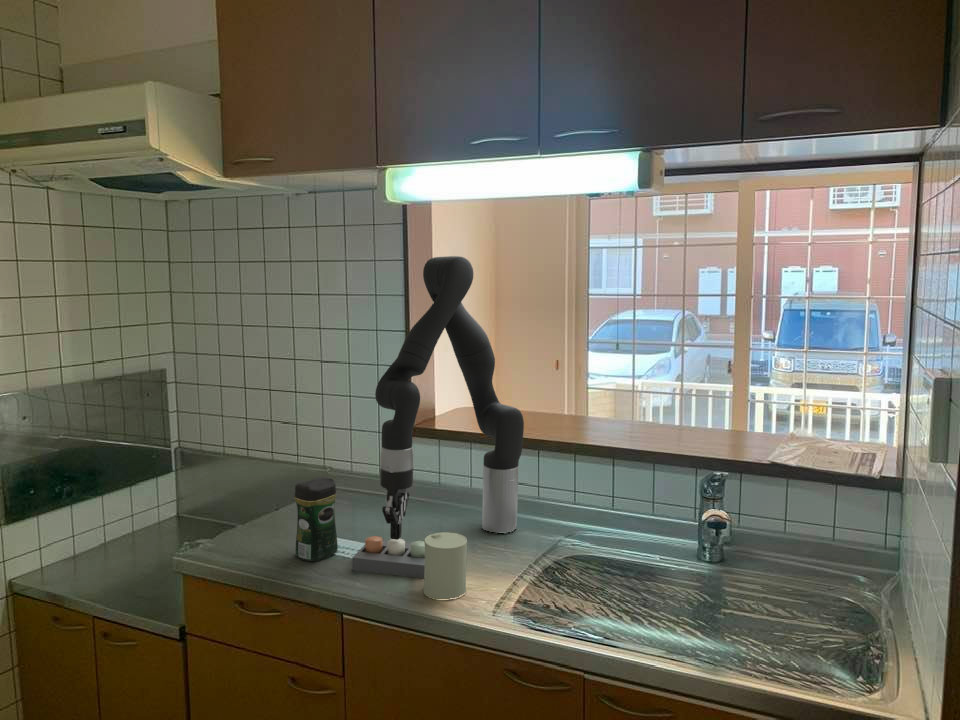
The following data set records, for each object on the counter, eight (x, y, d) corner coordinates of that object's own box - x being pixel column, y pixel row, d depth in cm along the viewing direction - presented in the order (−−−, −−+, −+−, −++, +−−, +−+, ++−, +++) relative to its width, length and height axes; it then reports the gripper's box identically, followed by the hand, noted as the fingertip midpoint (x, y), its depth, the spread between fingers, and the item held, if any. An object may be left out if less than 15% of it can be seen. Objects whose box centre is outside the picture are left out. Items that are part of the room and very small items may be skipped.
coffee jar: (320, 544, 183) (320, 471, 180) (342, 552, 178) (342, 478, 175) (289, 556, 175) (288, 480, 172) (311, 565, 170) (310, 487, 168)
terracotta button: (368, 547, 175) (368, 535, 175) (384, 549, 175) (384, 537, 174) (362, 554, 172) (362, 541, 171) (379, 555, 171) (379, 543, 170)
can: (443, 578, 165) (444, 526, 163) (475, 590, 159) (476, 537, 158) (414, 591, 158) (415, 538, 156) (446, 605, 152) (447, 549, 151)
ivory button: (390, 550, 174) (391, 537, 174) (407, 551, 173) (407, 539, 173) (385, 556, 170) (385, 544, 170) (401, 558, 170) (401, 545, 169)
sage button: (413, 552, 173) (413, 540, 173) (429, 554, 172) (429, 541, 172) (408, 559, 169) (408, 546, 169) (424, 560, 168) (425, 548, 168)
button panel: (370, 550, 180) (370, 538, 179) (438, 557, 176) (438, 545, 176) (352, 570, 168) (352, 557, 168) (424, 578, 165) (424, 565, 164)
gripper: (390, 457, 176) (389, 526, 179) (370, 472, 163) (370, 547, 166) (420, 459, 175) (419, 530, 177) (403, 475, 162) (402, 550, 164)
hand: (395, 538), depth 171 cm, fingers closed
